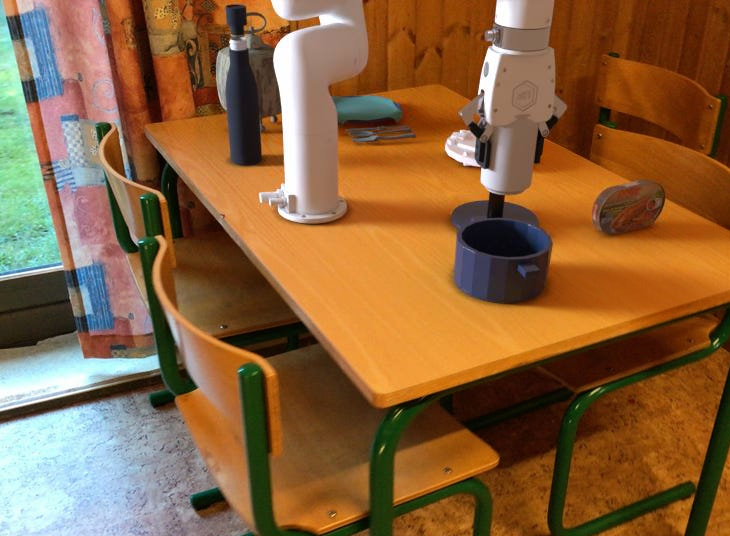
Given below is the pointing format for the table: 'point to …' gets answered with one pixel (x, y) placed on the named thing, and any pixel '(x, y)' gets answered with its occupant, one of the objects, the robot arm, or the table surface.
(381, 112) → the cutlery set
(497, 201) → the pot lid
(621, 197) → the tin
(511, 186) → the can
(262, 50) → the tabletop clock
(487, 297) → the pot
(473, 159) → the embossed medallion
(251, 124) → the dark blue bottle
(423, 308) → the table surface
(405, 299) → the table surface
